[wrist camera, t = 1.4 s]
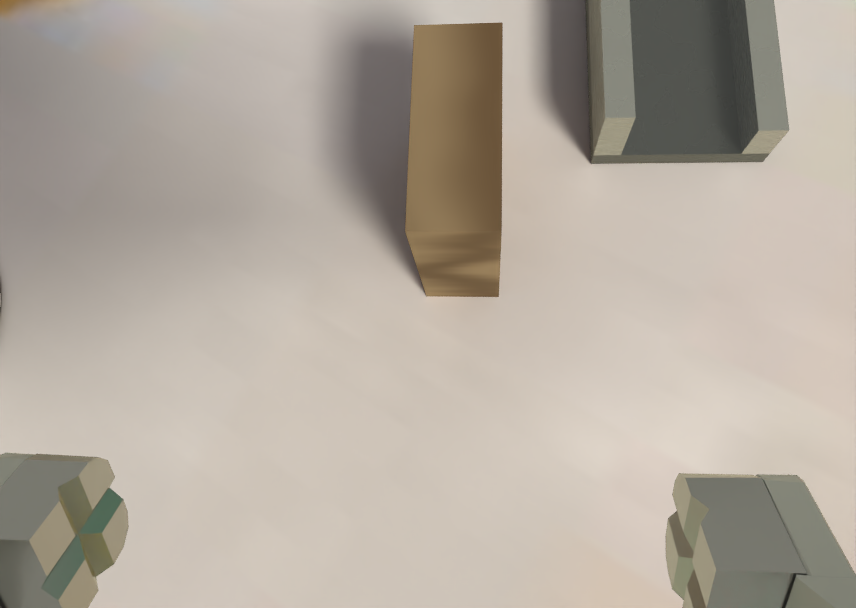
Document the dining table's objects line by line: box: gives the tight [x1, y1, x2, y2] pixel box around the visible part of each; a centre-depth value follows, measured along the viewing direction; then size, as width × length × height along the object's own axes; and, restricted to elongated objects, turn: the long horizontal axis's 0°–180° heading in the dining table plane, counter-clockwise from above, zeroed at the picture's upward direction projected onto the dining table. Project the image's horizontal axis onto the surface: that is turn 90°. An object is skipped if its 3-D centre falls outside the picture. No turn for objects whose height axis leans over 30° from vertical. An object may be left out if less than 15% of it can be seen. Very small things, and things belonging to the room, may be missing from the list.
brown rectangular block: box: [405, 23, 502, 297], centre depth 34 cm, size 4×10×10 cm, turn 178°
